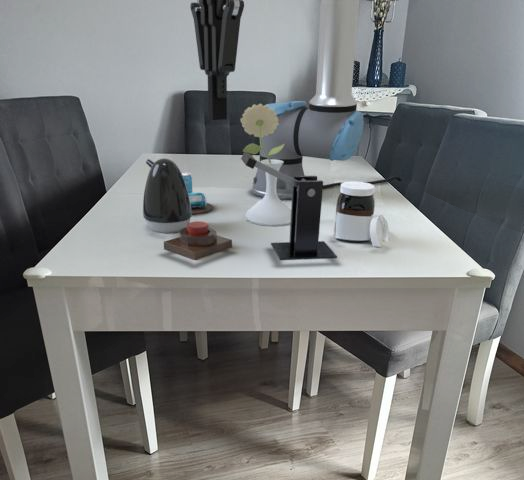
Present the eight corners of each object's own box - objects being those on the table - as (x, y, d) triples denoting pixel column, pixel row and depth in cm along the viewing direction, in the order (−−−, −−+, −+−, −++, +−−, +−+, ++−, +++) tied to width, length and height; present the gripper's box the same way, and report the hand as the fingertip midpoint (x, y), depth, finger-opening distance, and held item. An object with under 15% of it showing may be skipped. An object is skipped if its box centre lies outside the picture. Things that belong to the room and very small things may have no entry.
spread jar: (332, 233, 115) (338, 178, 109) (384, 236, 114) (392, 181, 109) (333, 251, 105) (339, 192, 99) (390, 254, 104) (399, 195, 98)
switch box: (201, 243, 107) (201, 221, 105) (232, 253, 103) (232, 230, 100) (164, 255, 100) (162, 232, 98) (195, 266, 96) (194, 242, 94)
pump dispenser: (169, 222, 119) (165, 152, 111) (202, 232, 113) (200, 158, 106) (134, 232, 112) (126, 158, 104) (166, 243, 106) (161, 165, 99)
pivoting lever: (244, 168, 89) (250, 154, 88) (239, 161, 94) (245, 148, 93) (314, 202, 94) (321, 189, 93) (306, 194, 99) (312, 182, 98)
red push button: (198, 229, 102) (197, 220, 101) (212, 233, 100) (212, 224, 99) (182, 233, 99) (182, 224, 98) (197, 238, 97) (197, 228, 96)
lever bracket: (279, 266, 97) (283, 184, 90) (270, 249, 105) (273, 173, 97) (336, 264, 99) (344, 184, 91) (323, 248, 106) (330, 173, 99)
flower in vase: (300, 220, 123) (307, 103, 111) (287, 234, 114) (293, 108, 101) (247, 214, 127) (249, 100, 114) (231, 227, 117) (230, 104, 105)
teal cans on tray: (205, 200, 136) (204, 169, 132) (218, 213, 127) (217, 179, 123) (159, 203, 132) (157, 171, 128) (168, 216, 123) (166, 182, 119)
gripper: (172, -53, 80) (180, 115, 91) (214, -65, 70) (217, 124, 82) (215, -48, 83) (218, 114, 95) (260, -58, 74) (257, 122, 86)
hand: (217, 118), depth 89 cm, fingers closed
